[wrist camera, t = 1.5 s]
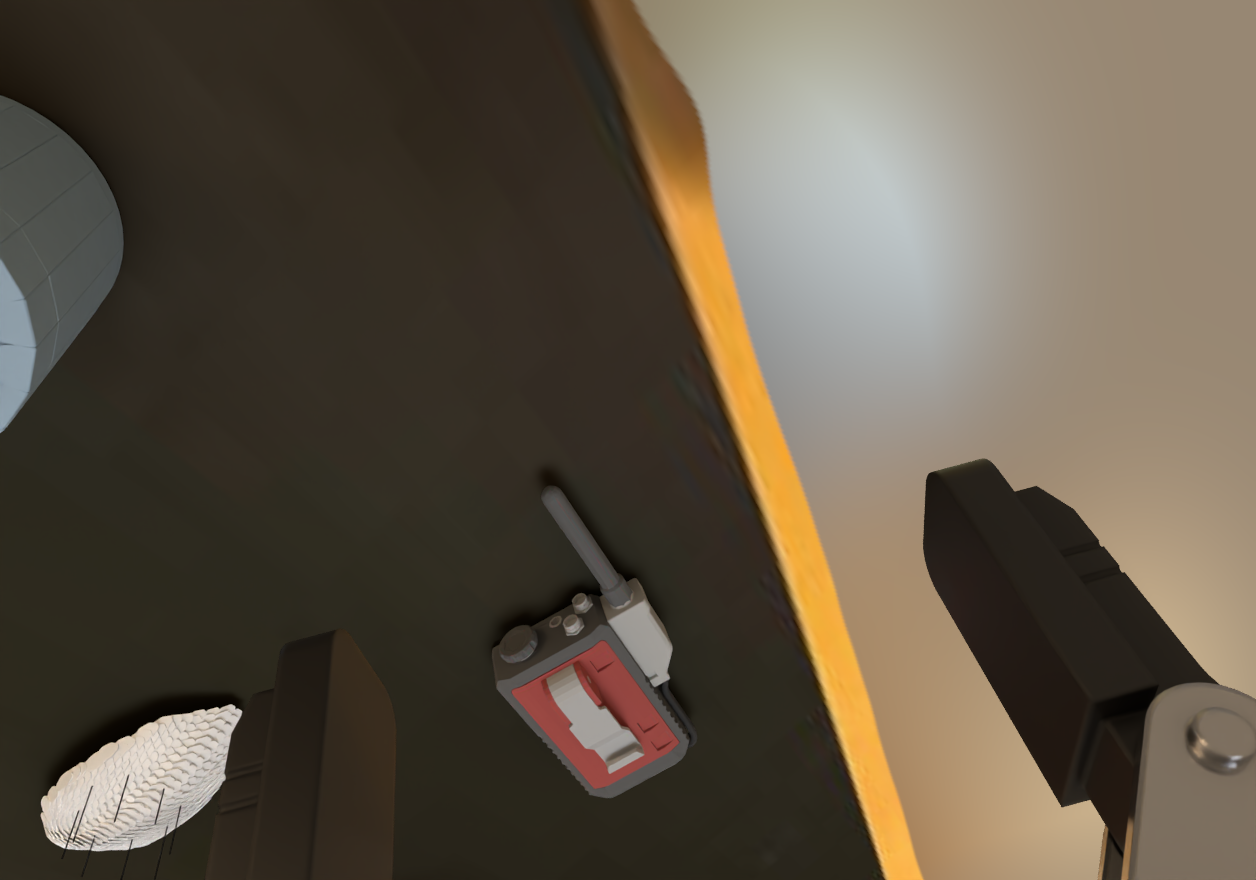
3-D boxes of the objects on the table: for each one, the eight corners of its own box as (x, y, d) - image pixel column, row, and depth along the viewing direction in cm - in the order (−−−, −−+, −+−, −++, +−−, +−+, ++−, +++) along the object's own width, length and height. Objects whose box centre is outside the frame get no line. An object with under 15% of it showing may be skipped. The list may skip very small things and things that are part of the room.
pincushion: (190, 665, 42) (166, 758, 38) (283, 729, 46) (272, 822, 41) (2, 799, 43) (-45, 906, 39) (106, 851, 47) (74, 956, 42)
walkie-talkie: (720, 704, 52) (562, 462, 42) (747, 763, 49) (579, 513, 38) (591, 775, 53) (401, 552, 42) (607, 839, 49) (403, 612, 38)
